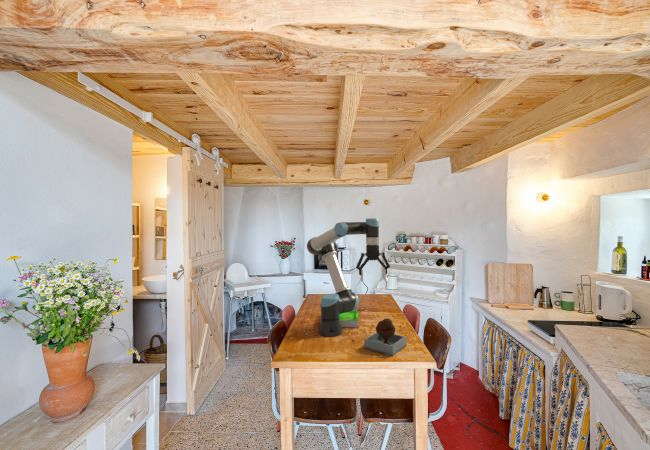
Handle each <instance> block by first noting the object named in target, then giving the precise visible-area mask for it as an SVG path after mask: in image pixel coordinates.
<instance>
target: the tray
mask: <svg viewBox="0 0 650 450" xmlns="http://www.w3.org/2000/svg"><path fill="white" fill-rule="evenodd" d="M339 320H340V323H341V327H342V328H359V310H357V309H356V310H354V311H351V312H346V313H342V314H339Z"/></svg>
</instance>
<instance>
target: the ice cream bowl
mask: <svg viewBox="0 0 650 450" xmlns="http://www.w3.org/2000/svg"><path fill="white" fill-rule="evenodd" d="M396 328H397V327H395V325H394V324H393V321H392V320H391V319H390V318H386V317H385V318H383V320H379V321H378V322H377V325H376V326H375V331H376V332H377V333H378V334H379V335H380V336H381V337H383V338H384V342H383V343H384V344H388V345H391V344H390V343H388V342H387V339H388V338H390V337H392V336H393V335H394V334H396ZM376 332H375V333H376Z"/></svg>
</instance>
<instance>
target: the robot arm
mask: <svg viewBox="0 0 650 450" xmlns="http://www.w3.org/2000/svg"><path fill="white" fill-rule="evenodd" d="M379 228H380V225H379V219H378V218H373V217H372V218H365V221H350V222H349V221H348V222H347V221H346V222H345V221H340V222H337V223H335V225H334V227H332V228H331V229H329V230H327V231H325V232H324V233H322V234H320V235H318V236H314V237H312V238H310V239H309V240H308V241H307V243H306V249H307V251H308V253H310V254H311V255H313V256H320V258H321V259H322V260H324V261H325V264H326V267H327V270H328V273H329V277H330V280H331V282H332V284H333V288H334V290H335V293H326V294H324V295H323V296H322V297H321V299H320V322H319V326H318V334H319V335H320V336H324V337H337V336H340V335H342V334H343V327H341V323H340V320H339V314H342V313H346V312H351V311H354V310H357V308H359V307H358V306H359V302H360V301H359V300H360V299H359V297H358V294H357V293H355V292H353V291H352V289H351V288H350V287H348V284H347V281H346V279H345V276H344V273H343V270H342V268H341V265H340V262H339V260H338V257H337V256H338V251H339V244H338V241H337V240H339V239H341V238H343V237H346V236H350V235H351V236H352V235H354V236H355V235H365V243H366V245H365V250H366V251H365V252H360V257H359V259H358V261H357V263H356V266H355V269H356V270H358V274H359V276H360V282H364V270H363V268H364V267H365V265H367V263H368V262H370V261H377V262H378V263H379V264H380V265H381V266H382V267H383V268H382V280H383V281H386V278H387V276H386V275H387V274H388V269H390V268H391V266H390V265H391V264H389V261H388V259H387V257H386V254H385V252H383V251H382V252H380V245H379V244H380V235H379V233H380V230H379ZM364 257H366V258H365V260H364ZM380 257H381V258H382V260H383V261H384V262H383V261H382V260H381V258H380Z"/></svg>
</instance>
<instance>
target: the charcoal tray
mask: <svg viewBox="0 0 650 450" xmlns="http://www.w3.org/2000/svg"><path fill="white" fill-rule="evenodd" d="M383 342H384V338H383V337H381V336H380V335H379V334H378V333H377V332H373V334H371V335H369V336H367V337H365V338H364V339H363V346H364V347H363V348H364V349H365V350H368V351H373V352H376V353H380V354H383V355H387V356H391V357H393V356H395V355H397V353H399V352H400V351H402V350H403V349H404V348H406V347H407V336H405V335H401V334H396V333H394V335H393V336H392V337H390V338H388V339H387V342H388V343H390V344H391V345H388V344H384V343H383Z"/></svg>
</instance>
